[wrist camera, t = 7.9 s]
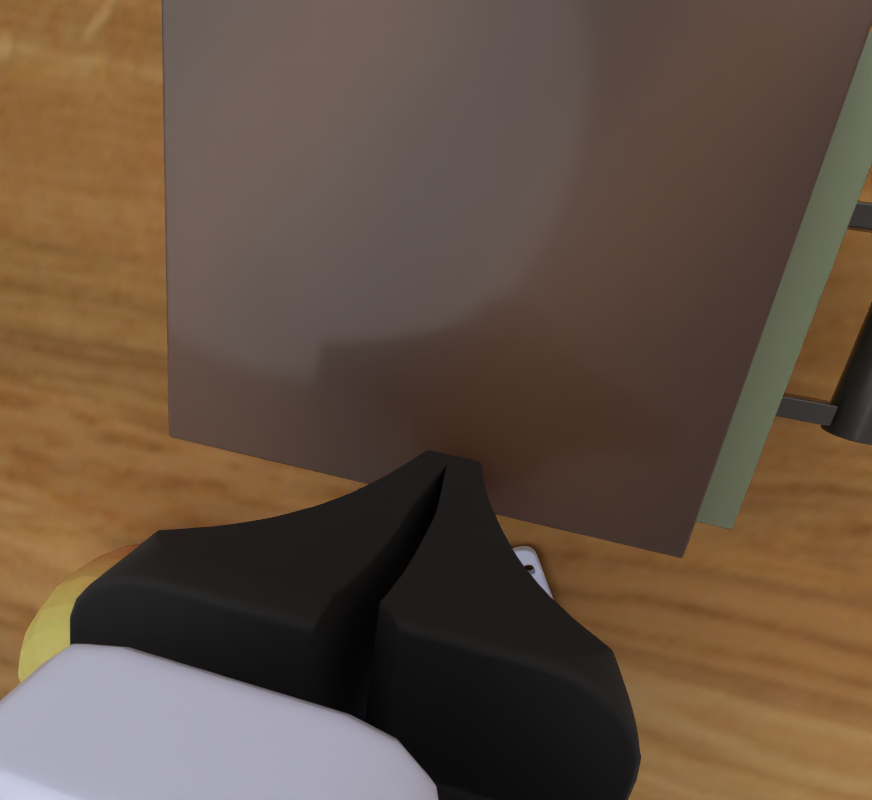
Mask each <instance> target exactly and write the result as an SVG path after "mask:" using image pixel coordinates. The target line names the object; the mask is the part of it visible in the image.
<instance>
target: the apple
mask: <svg viewBox="0 0 872 800" xmlns="http://www.w3.org/2000/svg"><path fill="white" fill-rule="evenodd" d="M139 545H140V544H138V545H130V546H126V547H123V548H121V549H118V550H115V551H113V552H110V553H108V554H105V555H102V556H101V557H99V558H97V559H95V560H93V561H92V562H90V563H88V564H86V565H85V566H83V567H81V568H79V569H78V570H77V571H75V572H74V573H73V574H71V575H70V576H69V577H68V578H66V579H65V580H64V581H62V582H61V583H60V584H59V585H57V587H56V588H55V589H54V590H53V592H52V593H51V594H50V596H49V597H48V598H47V600H46V601H45V602H44V604H43V605H42V606H41V608H40V609H39V611H38V613H37V614H36V616H35V617H34V619H33V621H32V622H31V624H30V626H29V627H28V629H27V630H26V634H25V638H24V641H23V645H22V649H21V653H20V661H19V670H18V677H19V680H20V683H21V682H23V681H24V680H25V679H26V678H27V677H28V676H29V675H31V674H32V673H33V672H34V671H35V670H36V669H37V668H39V667H40V666H41V665H42V664H43V663H44V662H46V661H47V660H49V659H50V658H52V657H53V656H55V655H57V654H58V653H60V652H61V651H63V650H64V649H66V648H67V647H69V646H70V615H71V612H72V609H73V606H74V603H75V601H76V598H77V597H78V596H79V595H80V594H81V593H82V592H83V591H84V590H85V589H86V588H87V587H88V586H89V585H90V584H91V583H92V582H94V581H95V580H96V579H97V578H99V577H100V576H101V575H102V574H104V573H105V572H106V571H107V570H109V569H110V568H111V567H113V566H114V565H115V564H116V563H118V562H119V561H120V560H121V559H123V558H124V557H125V556H126V555H128V554H129V553H130V552H132V551H133V550H134V549H135V548H137V547H138V546H139Z"/></svg>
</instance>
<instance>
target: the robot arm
mask: <svg viewBox="0 0 872 800" xmlns="http://www.w3.org/2000/svg"><path fill="white" fill-rule="evenodd" d="M526 565H531V566H533V567H534V569H532V570H527V569H526V568H525V567H524V566H526ZM640 761H641V754H640V749H639V739H638V733H637V727H636V722H635V718H634V714H633V710H632V706H631V703H630V700H629V696H628V693H627V690H626V687H625V684H624V681H623V678H622V675H621V672H620V670H619V667H618V664H617V661H616V658H615V656H614V653H613V651H612V649H610V648H609V647H608V646H607V645H605V644H604V643H603V642H602V641H600V640H599V639H598V638H597V637H596V636H594V635H593V634H592V633H591V632H589V631H588V630H587V629H586V628H584V627H583V626H582V625H581V624H579V623H578V622H577V621H576V620H574V619H573V618H572V617H571V616H570V615H569V614H568V613H567V612H566V611H565V610H564V609H563V608H562V607H560V606H559V605H558V604H557V603H556V602H555V601H554V599H553V597H552V594H551V591H550V588H549V586H548V583H547V580H546V578H545V575H544V572H543V570H542V567H541V564H540V561H539V559H538V556H537V553H536V552H535V550H534V549H532V548H531V547H529V546H519V547H515V548H512V547H511V546H510V544H509V542H508V540H507V538H506V537H505V535H504V533H503V531H502V529H501V527H500V525H499V522H498V520H497V518H496V516H495V513H494V511H493V508H492V506H491V503H490V500H489V497H488V494H487V491H486V487H485V483H484V479H483V466H482V465H481V463H480V462H479V461H476V460H471V459H467V458H462V457H457V456H453V455H448V454H444V453H439V452H435V451H430V450H427V451H425V452H423V453H422V454H420V455H418V456H417V457H415V458H414V459H412V460H410V461H409V462H407V463H406V464H404V465H402V466H401V467H399V468H398V469H396V470H394V471H393V472H391V473H389V474H387V475H386V476H384V477H382V478H380V479H378V480H376V481H374V482H372V483H370V484H368V485H366V486H364V487H362V488H360V489H358V490H356V491H354V492H352V493H350V494H347V495H345V496H342V497H340V498H337V499H335V500H332V501H329V502H326V503H323V504H321V505H317V506H314V507H311V508H307V509H303V510H300V511H296V512H292V513H288V514H284V515H281V516H277V517H272V518H267V519H262V520H256V521H251V522H244V523H237V524H231V525H223V526H214V527H201V528H188V529H176V530H159V531H157V532H156V533H155V534H153V535H152V536H151V537H149V538H148V539H147V540H145V541H144V542H143V543H142V544H140V545H139V546H138V547H137V548H135V549H134V550H133V551H132V552H130V553H129V554H128V555H126V556H125V557H124V558H123V559H121V560H120V561H119V562H118V563H116V564H115V565H114V566H113V567H111V568H110V569H109V570H107V571H106V572H105V573H104V574H102V575H101V576H100V577H99V578H97V579H96V580H95V581H94V582H92V583H91V584H90V585H89V586H88V587H87V588H86V589H85V590H84V591H83V592H82V593H81V594H80V595H79V596H78V597H77V598H76V601H75V603H74V606H73V609H72V612H71V615H70V646H69V647H67V648H66V649H64V650H63V651H61V652H60V653H58V654H57V655H55V656H53V657H52V658H50V659H49V660H47V661H46V662H44V663H43V664H42V665H41V666H40V667H39V668H37V669H36V670H35V671H34V672H33V673H32V674H31V675H29V676H28V677H27V678H26V679H25V680H24V681H23V682H21V683H20V684H19V685H18V686H17V687H16V688H15V689H13V690H12V691H11V692H10V693H9V694H8V695H7V696H5V697H4V698H3V699H2V700H1V701H0V800H628V798H629V796H630V794H631V791H632V789H633V787H634V784H635V782H636V780H637V775H638V770H639V765H640Z"/></svg>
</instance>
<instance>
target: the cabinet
mask: <svg viewBox="0 0 872 800" xmlns="http://www.w3.org/2000/svg"><path fill="white" fill-rule="evenodd" d="M871 26H872V0H162V43H163V103H164V164H165V224H166V284H167V345H168V405H169V436H170V437H173V438H177V439H181V440H186V441H190V442H194V443H198V444H203V445H207V446H211V447H215V448H219V449H224V450H228V451H232V452H236V453H240V454H245V455H249V456H253V457H257V458H262V459H266V460H270V461H274V462H278V463H283V464H287V465H291V466H295V467H299V468H304V469H308V470H312V471H316V472H321V473H325V474H329V475H333V476H337V477H342V478H346V479H350V480H354V481H358V482H363V483H367V484H370V483H372V482H374V481H376V480H378V479H380V478H382V477H384V476H386V475H387V474H389V473H391V472H393V471H394V470H396V469H398V468H399V467H401V466H402V465H404V464H406V463H407V462H409V461H410V460H412V459H414V458H415V457H417V456H418V455H420V454H422V453H423V452H425V451H427V450H430V451H435V452H439V453H444V454H448V455H453V456H457V457H462V458H467V459H471V460H476V461H479V462H480V463H481V465H482V466H483V479H484V483H485V487H486V491H487V494H488V497H489V500H490V503H491V506H492V508H493V511H494V513H495V514H497V515H502V516H506V517H510V518H514V519H519V520H523V521H527V522H531V523H535V524H540V525H544V526H548V527H552V528H556V529H561V530H565V531H569V532H573V533H578V534H582V535H586V536H590V537H594V538H599V539H603V540H607V541H611V542H615V543H620V544H624V545H628V546H632V547H636V548H641V549H645V550H649V551H653V552H658V553H662V554H666V555H670V556H674V557H679V558H682V557H683V556H684V553H685V550H686V547H687V544H688V542H689V539H690V536H691V533H692V530H693V527H694V525H695V522H696V519H697V516H698V513H699V511H700V508H701V505H702V502H703V499H704V496H705V494H706V491H707V488H708V485H709V482H710V480H711V477H712V474H713V471H714V468H715V465H716V463H717V460H718V457H719V454H720V451H721V449H722V446H723V443H724V440H725V437H726V434H727V432H728V429H729V426H730V423H731V420H732V418H733V415H734V412H735V409H736V406H737V403H738V401H739V398H740V395H741V392H742V389H743V387H744V384H745V381H746V378H747V375H748V372H749V370H750V367H751V364H752V361H753V358H754V356H755V353H756V350H757V347H758V344H759V341H760V339H761V336H762V333H763V330H764V327H765V325H766V322H767V319H768V316H769V313H770V310H771V308H772V305H773V302H774V299H775V296H776V294H777V291H778V288H779V285H780V282H781V279H782V277H783V274H784V271H785V268H786V265H787V263H788V260H789V257H790V254H791V251H792V248H793V246H794V243H795V240H796V237H797V234H798V232H799V229H800V226H801V223H802V220H803V217H804V215H805V212H806V209H807V206H808V203H809V201H810V198H811V195H812V192H813V189H814V186H815V184H816V181H817V178H818V175H819V172H820V170H821V167H822V164H823V161H824V158H825V155H826V153H827V150H828V147H829V144H830V141H831V139H832V136H833V133H834V130H835V127H836V124H837V122H838V119H839V116H840V113H841V110H842V108H843V105H844V102H845V99H846V96H847V93H848V91H849V88H850V85H851V82H852V79H853V76H854V74H855V71H856V68H857V65H858V62H859V60H860V57H861V54H862V51H863V48H864V45H865V43H866V40H867V37H868V34H869V31H870V29H871Z"/></svg>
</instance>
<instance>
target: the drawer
mask: <svg viewBox="0 0 872 800" xmlns="http://www.w3.org/2000/svg"><path fill="white" fill-rule="evenodd" d="M871 165H872V32H869V34H868V37H867V40H866V43H865V45H864V48H863V51H862V54H861V57H860V60H859V62H858V65H857V68H856V71H855V74H854V76H853V79H852V82H851V85H850V88H849V91H848V93H847V96H846V99H845V102H844V105H843V108H842V110H841V113H840V116H839V119H838V122H837V124H836V127H835V130H834V133H833V136H832V139H831V141H830V144H829V147H828V150H827V153H826V155H825V158H824V161H823V164H822V167H821V170H820V172H819V175H818V178H817V181H816V184H815V186H814V189H813V192H812V195H811V198H810V201H809V203H808V206H807V209H806V212H805V215H804V217H803V220H802V223H801V226H800V229H799V232H798V234H797V237H796V240H795V243H794V246H793V248H792V251H791V254H790V257H789V260H788V263H787V265H786V268H785V271H784V274H783V277H782V279H781V282H780V285H779V288H778V291H777V294H776V296H775V299H774V302H773V305H772V308H771V310H770V313H769V316H768V319H767V322H766V325H765V327H764V330H763V333H762V336H761V339H760V341H759V344H758V347H757V350H756V353H755V356H754V358H753V361H752V364H751V367H750V370H749V372H748V375H747V378H746V381H745V384H744V387H743V389H742V392H741V395H740V398H739V401H738V403H737V406H736V409H735V412H734V415H733V418H732V420H731V423H730V426H729V429H728V432H727V434H726V437H725V440H724V443H723V446H722V449H721V451H720V454H719V457H718V460H717V463H716V465H715V468H714V471H713V474H712V477H711V480H710V482H709V485H708V488H707V491H706V494H705V496H704V499H703V502H702V505H701V508H700V511H699V513H698V516H697V519H696V522H700V523H705V524H709V525H714V526H718V527H722V528H727V529H732V528H733V525H734V523H735V520H736V517H737V515H738V512H739V510H740V507H741V504H742V502H743V499H744V496H745V494H746V491H747V489H748V486H749V483H750V481H751V478H752V476H753V473H754V470H755V468H756V465H757V463H758V460H759V457H760V455H761V452H762V449H763V447H764V444H765V442H766V439H767V436H768V434H769V431H770V429H771V426H772V423H773V421H774V418H775V416H779V417H784V418H789V419H794V420H799V421H805V422H810V423H815V424H820V425H821V428H822V429H823V430H825V431H826V432H828V433H830V434H833V435H835V436H838V437H841V438H844V439H847V440H850V441H854V442H858V443H862V444H868V445H872V303H871V305H870V307H869V310H868V312H867V315H866V317H865V319H864V322H863V324H862V327H861V329H860V331H859V334H858V336H857V339H856V341H855V343H854V346H853V348H852V351H851V353H850V356H849V358H848V360H847V363H846V365H845V368H844V370H843V372H842V375H841V377H840V380H839V382H838V384H837V387H836V389H835V392H834V394H833V397H832V399H831V401H830V402H829V401H827V400H821V399H816V398H811V397H805V396H800V395H794V394H789V393H784V392H785V389H786V387H787V384H788V381H789V379H790V376H791V374H792V371H793V368H794V366H795V363H796V361H797V358H798V355H799V353H800V350H801V348H802V345H803V342H804V340H805V337H806V334H807V332H808V329H809V327H810V324H811V321H812V319H813V316H814V314H815V311H816V308H817V306H818V303H819V300H820V298H821V295H822V293H823V290H824V287H825V285H826V282H827V280H828V277H829V274H830V272H831V269H832V266H833V264H834V261H835V259H836V256H837V253H838V251H839V248H840V246H841V243H842V240H843V238H844V235H845V232H846V230H847V229H849V230H856V231H863V232H870V233H872V203H867V202H859V201H858V199H859V196H860V193H861V191H862V188H863V185H864V183H865V180H866V178H867V175H868V172H869V170H870V167H871Z"/></svg>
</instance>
